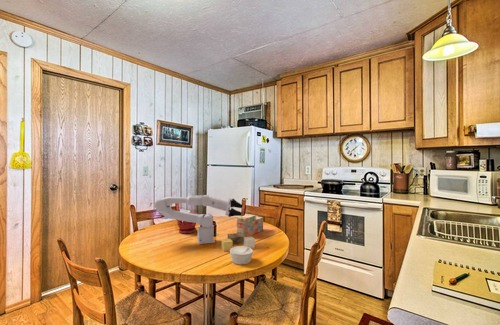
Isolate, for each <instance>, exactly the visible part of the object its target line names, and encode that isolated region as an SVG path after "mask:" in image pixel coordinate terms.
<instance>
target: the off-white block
mask: <svg viewBox="0 0 500 325" xmlns="http://www.w3.org/2000/svg"><path fill="white" fill-rule="evenodd" d="M243 246H245V247H249V248H251V249H255V248H256V238H254V237H253V235H251V236H248V237H244V243H243Z"/></svg>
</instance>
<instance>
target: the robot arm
mask: <svg viewBox="0 0 500 325" xmlns="http://www.w3.org/2000/svg"><path fill="white" fill-rule="evenodd" d="M173 204H188V206H201V205H202V207H211V208H213V209H216V210H220V211H224V212H225V216H227V217H229V218H231V217H236V216H237V217H241V216H242V214H243V212H242V211H239V210H237V209H234V208H238V209H243V204H241V203H240V202H238V201H237V200H235V198H228V201H227V200H223V199H221V198H216V197H212V196H211V197H210V196H209V195H207V194H200V195H195V194H191V195H188V196H187V197H185V196H184V197H182V196H166V197H165V196H162V197H160V198H159V199H157V200H156V201H155V202H154V209H155V210H156V212H157V213H160V214H161V215H162V216H163V217H164V218H166V219H172V220H176V221H177V220H181V221H182V222H183V221H187V222H193V223H196V225H197V224H198V226H199V227H197V242H198V244H199V245H202V244H203V245H204V244H215V243H216V241H215V239H214V236H215V234H214V232H215V227H214V224H213V223H214V222H213V221H214V216H213V215H212V214H210V213H206V214H204V213H203V214H199V213H196V214H192V213H193V212H185V211H180V210H174V209H173V208H172V207H171V205H173Z"/></svg>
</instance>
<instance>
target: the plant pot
mask: <svg viewBox="0 0 500 325" xmlns="http://www.w3.org/2000/svg"><path fill="white" fill-rule="evenodd" d="M191 213H192V214H197V213H196V212H191ZM176 223H177V227H178V232H179V233H181V234H191V233H194V232H195V231H196V230H197V227H196V226H197V223H193V222H187V221H181V220H176Z"/></svg>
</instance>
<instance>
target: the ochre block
mask: <svg viewBox="0 0 500 325" xmlns="http://www.w3.org/2000/svg"><path fill="white" fill-rule="evenodd" d="M233 245H234V244H233V241H232V240H231V239H228V238H223V239H221V250H222V252H230V249H231V248H233V247H234V246H233Z"/></svg>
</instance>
